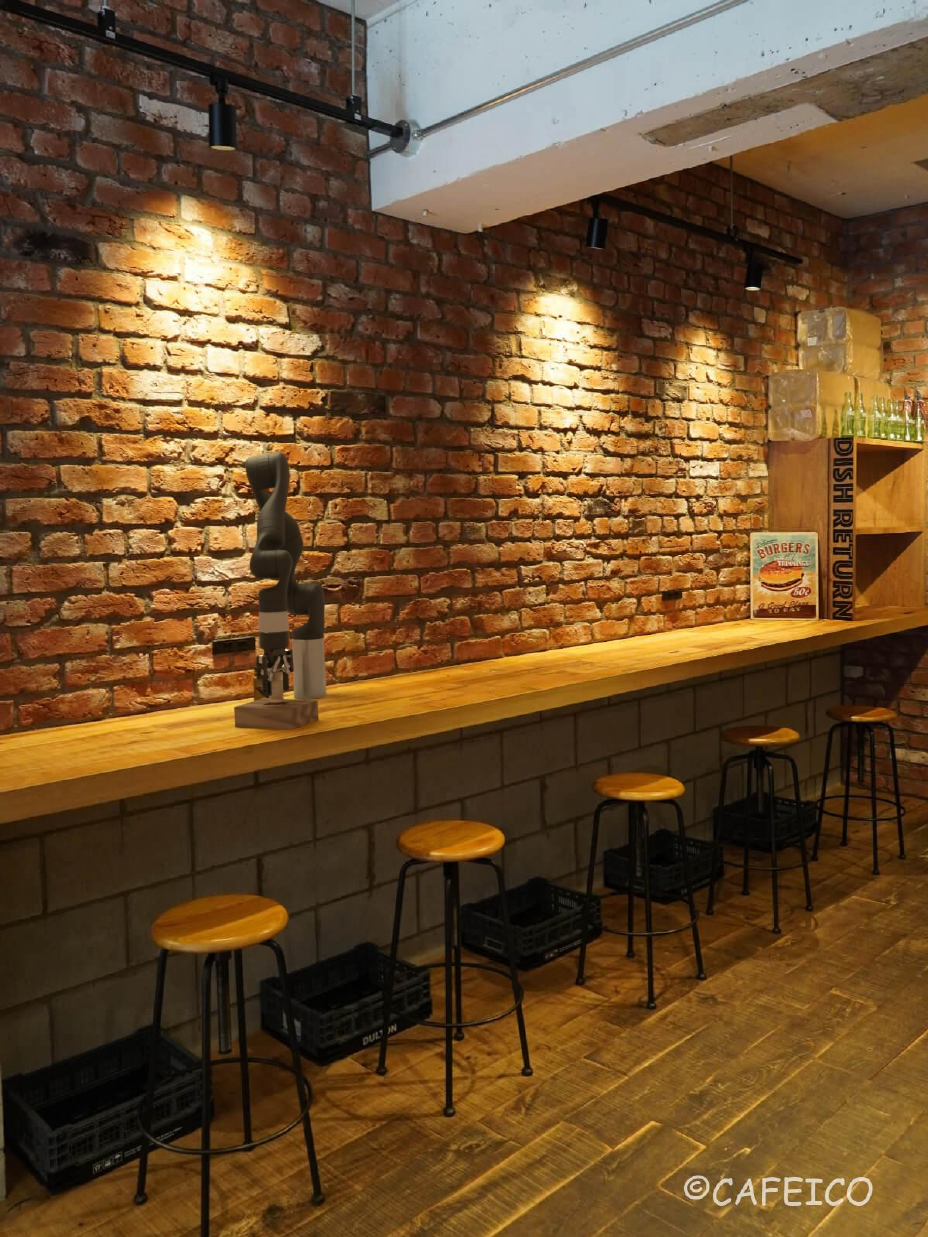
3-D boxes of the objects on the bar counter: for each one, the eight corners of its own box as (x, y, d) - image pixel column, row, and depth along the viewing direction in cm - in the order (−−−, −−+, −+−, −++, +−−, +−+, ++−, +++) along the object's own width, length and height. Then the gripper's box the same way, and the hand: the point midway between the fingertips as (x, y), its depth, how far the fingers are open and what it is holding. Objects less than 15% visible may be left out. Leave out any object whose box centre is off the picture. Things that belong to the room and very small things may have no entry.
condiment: (266, 712, 282) (264, 668, 281) (242, 710, 286) (240, 666, 285) (283, 707, 289) (282, 664, 288) (260, 705, 293) (258, 663, 292)
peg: (274, 721, 268) (272, 671, 267) (287, 722, 267) (285, 671, 266) (267, 724, 264) (265, 673, 263) (279, 724, 263) (277, 673, 262)
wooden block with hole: (264, 716, 275) (263, 698, 274) (318, 719, 269) (317, 700, 269) (235, 726, 262) (234, 707, 261) (291, 729, 256) (290, 709, 256)
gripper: (275, 626, 271) (277, 688, 273) (245, 632, 258) (248, 697, 259) (300, 626, 269) (303, 689, 270) (272, 632, 255) (274, 698, 257)
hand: (276, 693), depth 265 cm, fingers open, 8 cm apart
